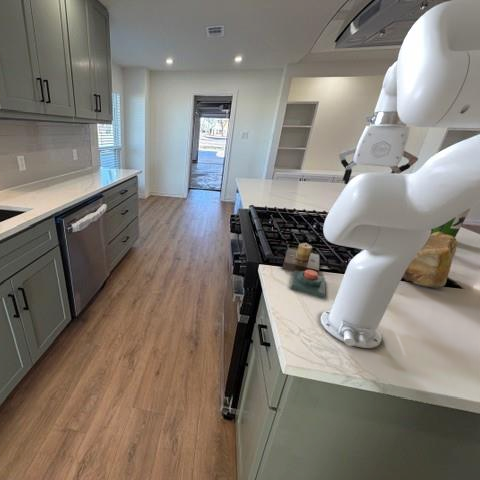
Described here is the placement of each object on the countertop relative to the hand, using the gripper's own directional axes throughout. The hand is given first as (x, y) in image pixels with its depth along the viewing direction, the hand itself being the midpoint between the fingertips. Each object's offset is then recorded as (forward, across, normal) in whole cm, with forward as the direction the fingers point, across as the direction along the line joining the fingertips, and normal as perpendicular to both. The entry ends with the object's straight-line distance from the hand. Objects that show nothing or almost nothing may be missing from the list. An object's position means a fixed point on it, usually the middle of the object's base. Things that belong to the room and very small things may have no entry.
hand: (365, 185), depth 73 cm
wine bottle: (+34, +45, +74) cm, 93 cm away
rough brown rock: (+33, +24, +21) cm, 46 cm away
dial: (+29, -10, +4) cm, 31 cm away
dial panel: (+32, -10, +4) cm, 34 cm away
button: (+29, -7, -10) cm, 31 cm away
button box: (+32, -7, -10) cm, 34 cm away
